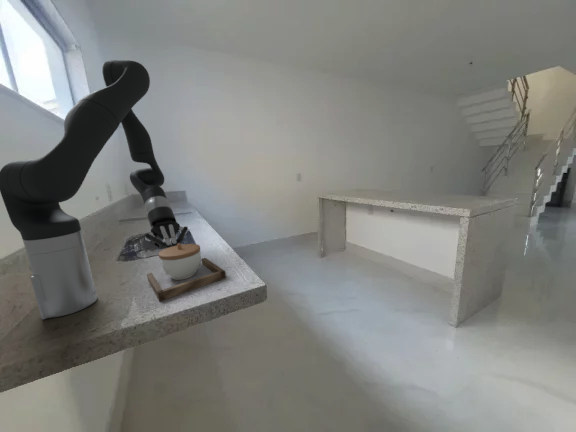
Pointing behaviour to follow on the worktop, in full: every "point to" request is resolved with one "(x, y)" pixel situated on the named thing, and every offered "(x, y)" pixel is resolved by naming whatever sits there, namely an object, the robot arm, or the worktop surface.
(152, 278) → the walnut bay
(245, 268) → the worktop surface
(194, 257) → the lidded jar
